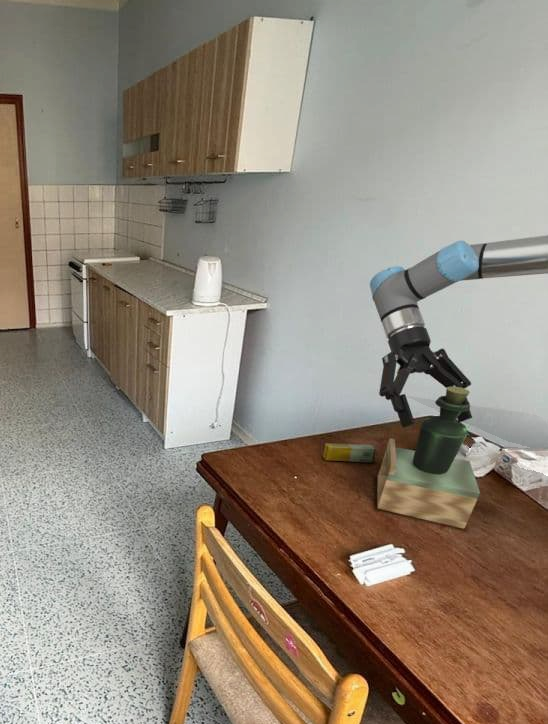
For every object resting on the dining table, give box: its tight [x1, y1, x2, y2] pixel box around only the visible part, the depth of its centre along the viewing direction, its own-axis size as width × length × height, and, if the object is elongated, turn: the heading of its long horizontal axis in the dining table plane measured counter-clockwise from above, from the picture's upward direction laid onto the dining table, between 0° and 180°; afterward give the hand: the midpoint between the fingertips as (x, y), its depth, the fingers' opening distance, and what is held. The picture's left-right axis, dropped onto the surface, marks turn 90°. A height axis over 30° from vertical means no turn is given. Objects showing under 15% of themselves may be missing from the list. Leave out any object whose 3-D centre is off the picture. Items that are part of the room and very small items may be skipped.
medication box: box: [322, 443, 377, 464], centre depth 122 cm, size 12×3×4 cm, turn 85°
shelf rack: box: [376, 437, 481, 530], centre depth 104 cm, size 16×14×11 cm
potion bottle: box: [413, 386, 471, 474], centre depth 98 cm, size 8×8×18 cm
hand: (437, 422), depth 99 cm, fingers open, 13 cm apart
